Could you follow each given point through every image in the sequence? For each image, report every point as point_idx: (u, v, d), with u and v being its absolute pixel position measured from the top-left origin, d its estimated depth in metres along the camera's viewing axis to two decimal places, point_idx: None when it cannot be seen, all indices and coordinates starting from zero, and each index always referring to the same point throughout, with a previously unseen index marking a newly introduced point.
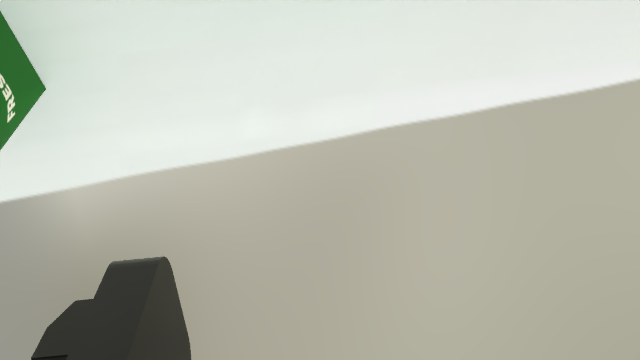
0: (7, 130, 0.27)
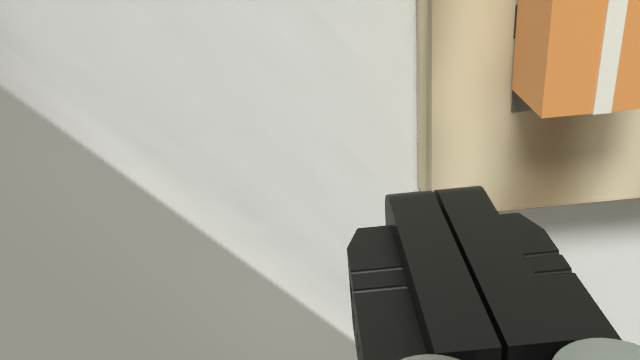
0: None
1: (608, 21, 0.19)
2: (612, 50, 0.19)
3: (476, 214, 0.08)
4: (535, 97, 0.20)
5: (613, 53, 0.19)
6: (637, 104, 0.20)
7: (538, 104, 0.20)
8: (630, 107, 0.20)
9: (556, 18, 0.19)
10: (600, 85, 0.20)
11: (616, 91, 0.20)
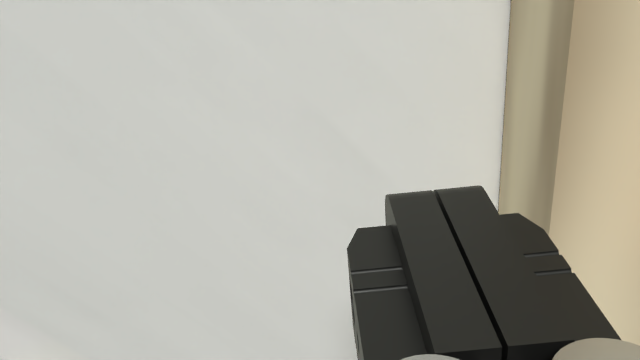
0: None
1: None
2: None
3: (476, 214, 0.08)
4: None
5: None
6: None
7: None
8: None
9: None
10: None
11: None
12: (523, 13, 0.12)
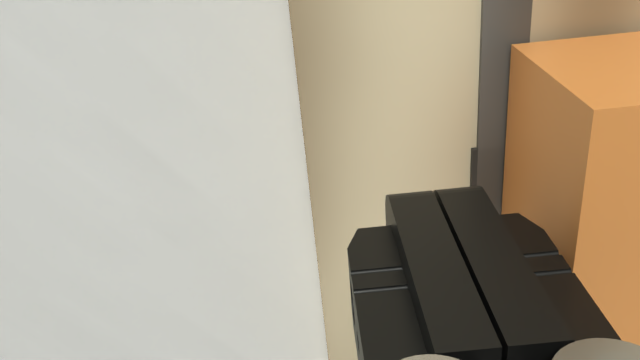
0: None
1: None
2: None
3: (476, 214, 0.08)
4: None
5: None
6: None
7: None
8: None
9: (590, 227, 0.08)
10: None
11: None
12: None
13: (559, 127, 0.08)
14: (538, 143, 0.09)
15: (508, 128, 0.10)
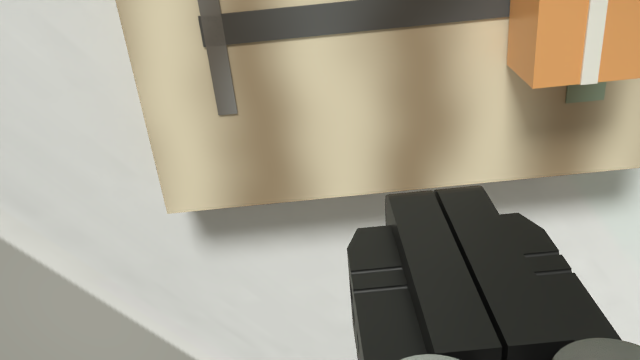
0: None
1: None
2: (597, 24, 0.21)
3: (476, 215, 0.08)
4: (527, 69, 0.22)
5: (598, 27, 0.21)
6: (622, 75, 0.22)
7: (529, 76, 0.22)
8: (615, 78, 0.22)
9: None
10: (586, 57, 0.21)
11: (602, 63, 0.21)
12: None
13: None
14: None
15: None
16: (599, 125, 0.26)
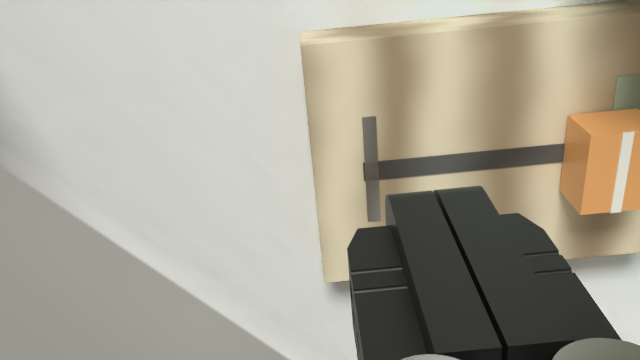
0: None
1: (619, 164, 0.33)
2: (622, 179, 0.33)
3: (476, 214, 0.08)
4: (576, 201, 0.35)
5: (622, 180, 0.34)
6: (636, 207, 0.34)
7: (578, 206, 0.35)
8: (632, 208, 0.35)
9: (590, 163, 0.33)
10: (614, 197, 0.34)
11: (624, 200, 0.34)
12: None
13: (582, 138, 0.33)
14: (576, 143, 0.34)
15: (566, 138, 0.35)
16: (619, 226, 0.39)
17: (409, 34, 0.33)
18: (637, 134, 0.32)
